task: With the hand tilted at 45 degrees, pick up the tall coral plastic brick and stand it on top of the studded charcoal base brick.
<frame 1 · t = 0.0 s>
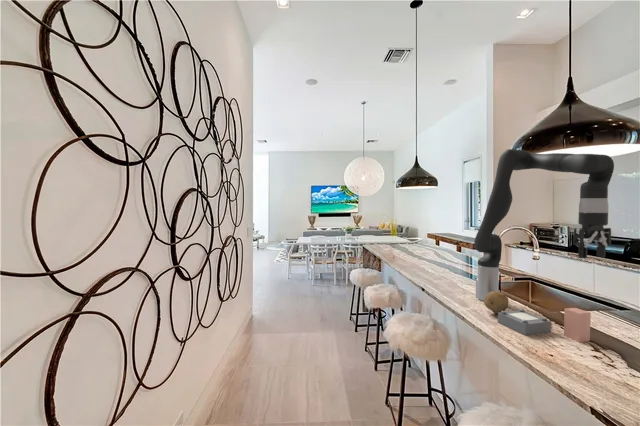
hand: (591, 257, 101), 29 cm above the worktop, tool pointing down, fingers open, 8 cm apart
coral brick: (576, 338, 103), on the worktop
brown round lump: (495, 314, 126), on the worktop
base brick: (523, 326, 112), on the worktop
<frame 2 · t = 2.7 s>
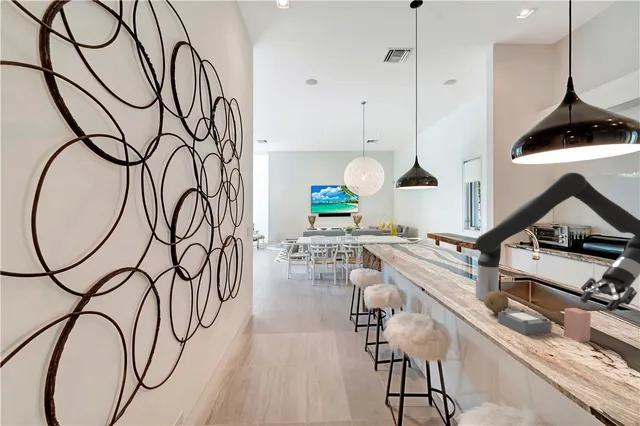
hand: (595, 305, 104), 11 cm above the worktop, tool tilted 45°, fingers open, 8 cm apart
nothing on the worktop moved.
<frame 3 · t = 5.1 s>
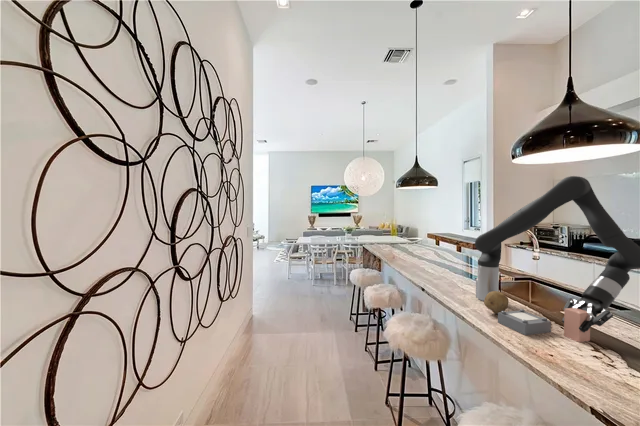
hand: (572, 326, 102), 4 cm above the worktop, tool tilted 45°, fingers closed on coral brick, 5 cm apart
coral brick: (576, 338, 103), on the worktop, touching gripper
everything else where it was.
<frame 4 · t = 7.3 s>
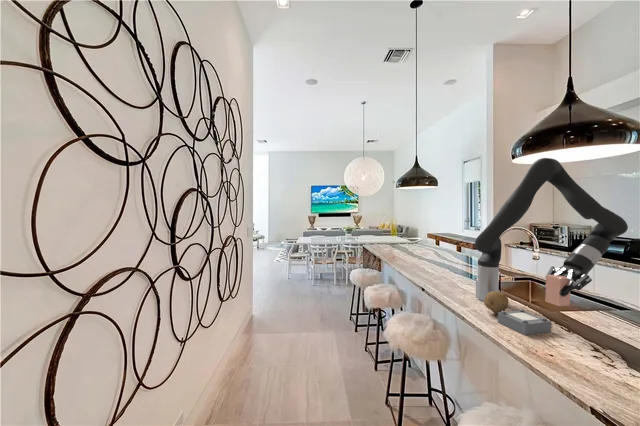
hand: (553, 292, 106), 16 cm above the worktop, tool tilted 45°, fingers closed on coral brick, 5 cm apart
coral brick: (557, 303, 106), point 11 cm above the worktop, touching gripper
everything else where it was.
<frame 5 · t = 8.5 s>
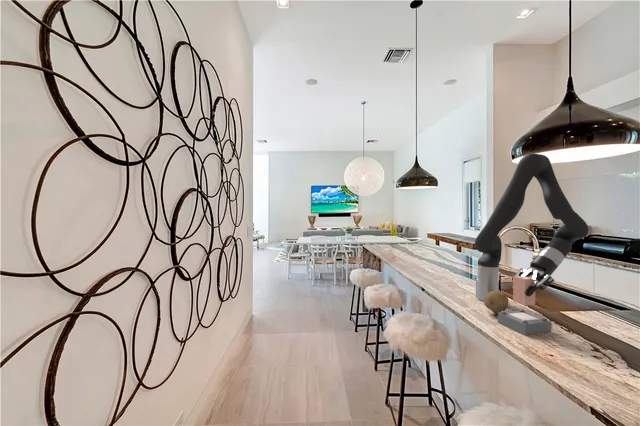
hand: (520, 292, 111), 14 cm above the worktop, tool tilted 45°, fingers closed on coral brick, 5 cm apart
coral brick: (524, 303, 112), point 9 cm above the worktop, touching gripper
everything else where it was.
when the fingers open (10 cm above the worktop, at t = 9.5 s): coral brick drops 1 cm, resting on base brick.
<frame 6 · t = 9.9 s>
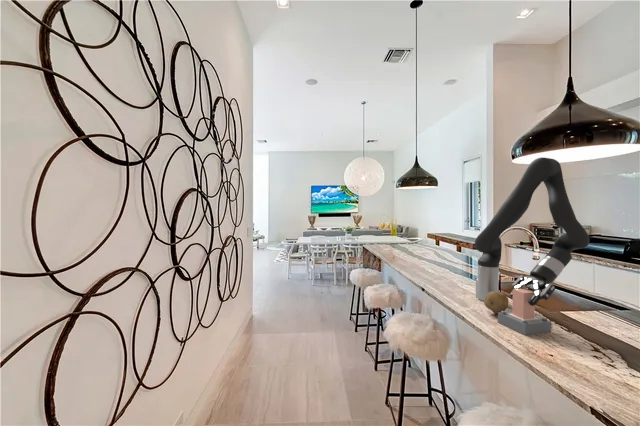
hand: (520, 300, 112), 10 cm above the worktop, tool tilted 45°, fingers open, 8 cm apart
coral brick: (523, 316, 112), point 4 cm above the worktop, touching base brick
everything else where it was.
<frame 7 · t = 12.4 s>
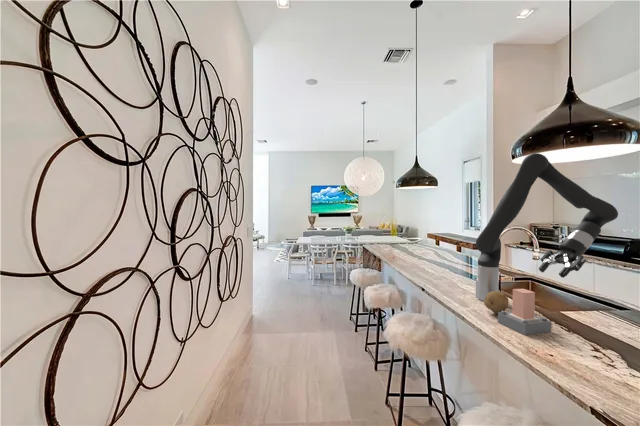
hand: (550, 273, 113), 21 cm above the worktop, tool tilted 45°, fingers open, 8 cm apart
nothing on the worktop moved.
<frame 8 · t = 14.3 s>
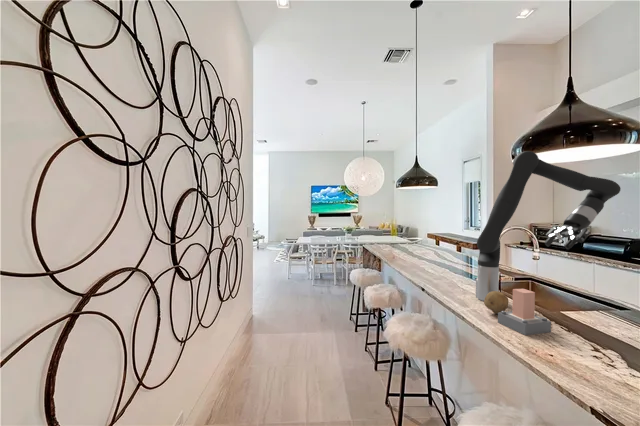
hand: (556, 246, 119), 31 cm above the worktop, tool tilted 45°, fingers open, 8 cm apart
nothing on the worktop moved.
at the end: coral brick 0.2 cm off-centre on the base brick, point 4.2 cm above the base brick's base; coral brick tilted 0°; the gripper is holding nothing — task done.
